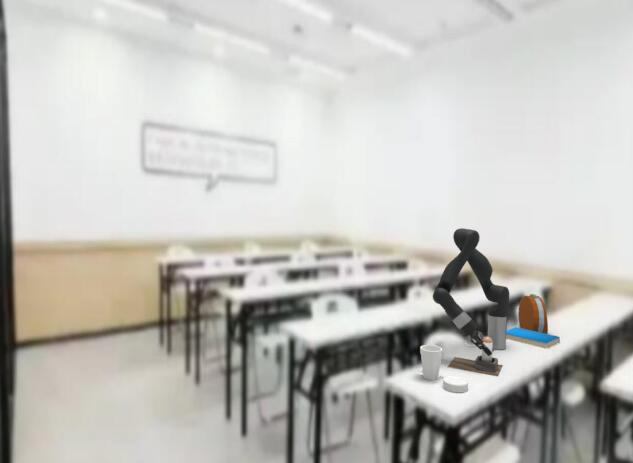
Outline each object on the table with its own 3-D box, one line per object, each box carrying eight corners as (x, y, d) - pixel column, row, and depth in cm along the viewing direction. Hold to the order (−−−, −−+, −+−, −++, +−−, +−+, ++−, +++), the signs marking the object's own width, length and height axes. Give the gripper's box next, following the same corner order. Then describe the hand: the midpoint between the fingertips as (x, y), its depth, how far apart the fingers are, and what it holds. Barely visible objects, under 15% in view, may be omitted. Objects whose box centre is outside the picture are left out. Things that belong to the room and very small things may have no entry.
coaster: (457, 395, 179) (458, 386, 179) (437, 387, 188) (438, 378, 187) (473, 389, 185) (473, 381, 185) (453, 381, 193) (453, 373, 193)
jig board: (454, 359, 221) (455, 348, 220) (502, 367, 210) (503, 356, 210) (446, 369, 207) (447, 358, 206) (497, 379, 196) (498, 367, 196)
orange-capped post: (482, 362, 209) (483, 334, 208) (492, 364, 207) (493, 336, 206) (480, 365, 205) (481, 337, 204) (490, 367, 203) (491, 338, 202)
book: (547, 342, 238) (501, 331, 257) (546, 350, 238) (501, 338, 257) (560, 336, 249) (515, 326, 268) (559, 344, 250) (515, 333, 268)
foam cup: (438, 373, 202) (438, 344, 201) (444, 381, 193) (445, 351, 192) (417, 373, 202) (417, 344, 201) (422, 381, 193) (423, 351, 192)
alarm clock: (550, 337, 260) (552, 298, 258) (533, 336, 260) (535, 298, 259) (533, 326, 282) (534, 291, 280) (517, 326, 282) (518, 290, 281)
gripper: (467, 322, 202) (495, 353, 197) (473, 315, 214) (500, 344, 209) (455, 331, 205) (482, 362, 200) (462, 324, 217) (487, 353, 212)
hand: (491, 353), depth 204 cm, fingers closed on orange-capped post, 4 cm apart
